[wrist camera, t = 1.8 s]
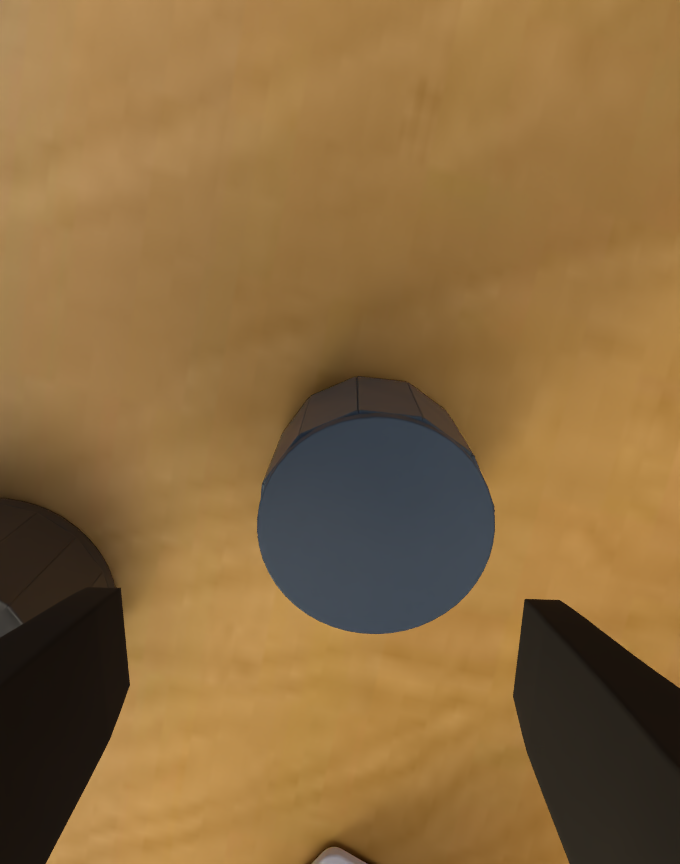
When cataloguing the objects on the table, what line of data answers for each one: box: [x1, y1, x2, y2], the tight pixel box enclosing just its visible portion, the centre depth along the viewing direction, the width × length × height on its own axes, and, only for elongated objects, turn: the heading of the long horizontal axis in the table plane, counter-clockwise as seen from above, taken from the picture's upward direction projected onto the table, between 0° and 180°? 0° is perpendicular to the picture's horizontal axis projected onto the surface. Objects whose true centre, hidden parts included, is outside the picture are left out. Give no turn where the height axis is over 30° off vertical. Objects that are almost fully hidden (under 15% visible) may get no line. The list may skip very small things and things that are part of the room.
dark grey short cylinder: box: [257, 376, 495, 634], centre depth 17 cm, size 6×6×5 cm
